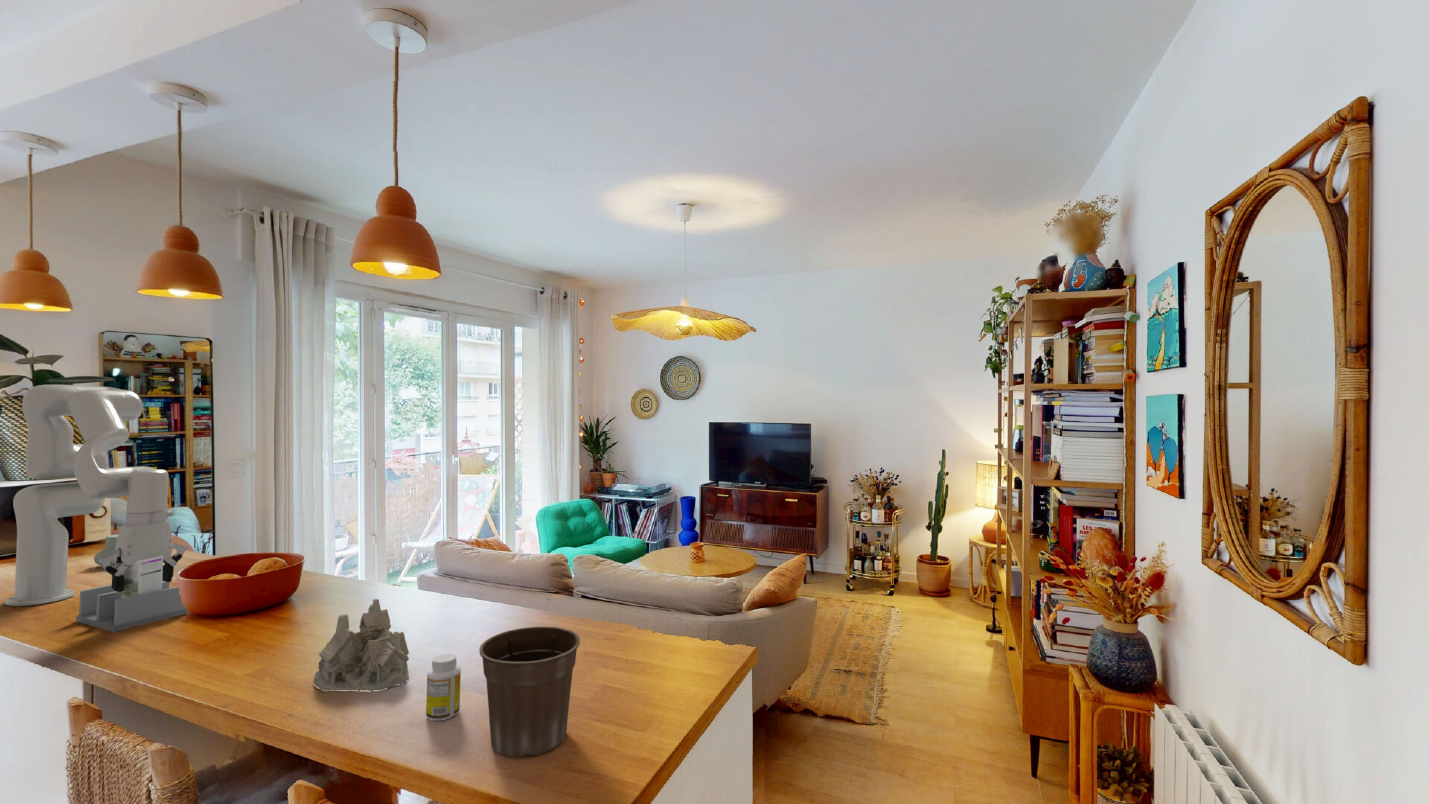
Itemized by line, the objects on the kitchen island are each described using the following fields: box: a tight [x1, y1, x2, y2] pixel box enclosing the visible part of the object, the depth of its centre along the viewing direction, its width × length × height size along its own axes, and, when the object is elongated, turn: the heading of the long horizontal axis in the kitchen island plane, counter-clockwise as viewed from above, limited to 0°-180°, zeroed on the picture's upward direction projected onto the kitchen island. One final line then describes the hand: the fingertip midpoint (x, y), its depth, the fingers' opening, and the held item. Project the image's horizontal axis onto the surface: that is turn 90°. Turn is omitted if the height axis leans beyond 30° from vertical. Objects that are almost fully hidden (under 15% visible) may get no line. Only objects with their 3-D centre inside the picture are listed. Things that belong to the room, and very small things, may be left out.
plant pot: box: [478, 626, 581, 759], centre depth 101 cm, size 16×16×16 cm
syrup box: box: [121, 556, 164, 598], centre depth 151 cm, size 6×6×14 cm
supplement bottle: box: [425, 653, 462, 721], centre depth 108 cm, size 6×6×10 cm
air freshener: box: [93, 533, 119, 567], centre depth 202 cm, size 11×8×10 cm
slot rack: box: [75, 581, 189, 633], centre depth 153 cm, size 17×15×8 cm
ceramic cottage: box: [313, 598, 410, 691], centre depth 121 cm, size 16×16×15 cm
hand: (143, 586), depth 152 cm, fingers open, 9 cm apart
